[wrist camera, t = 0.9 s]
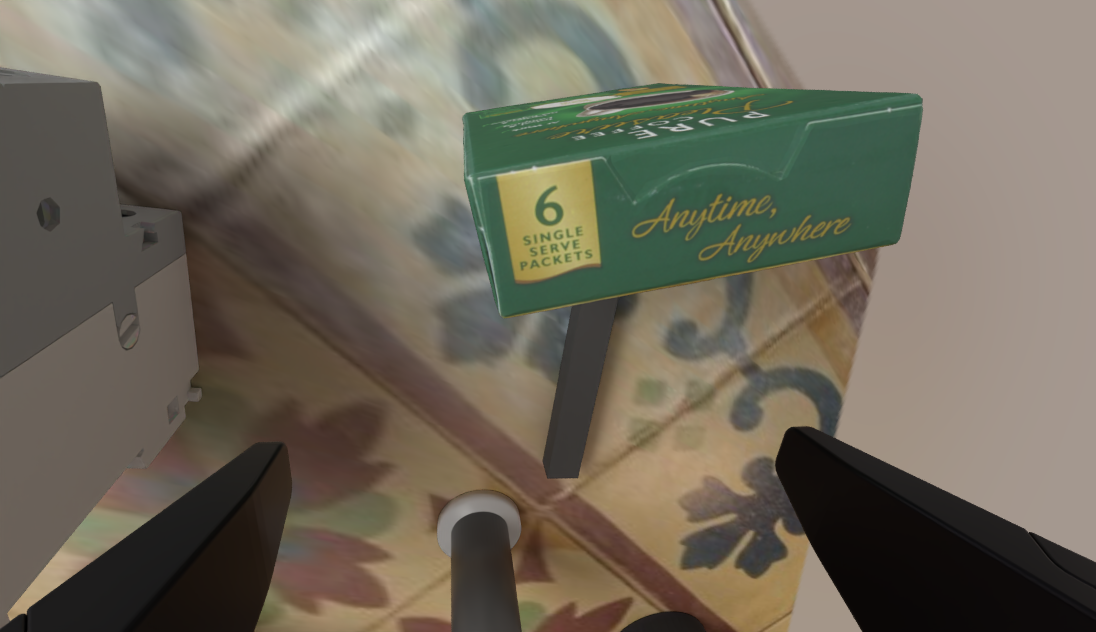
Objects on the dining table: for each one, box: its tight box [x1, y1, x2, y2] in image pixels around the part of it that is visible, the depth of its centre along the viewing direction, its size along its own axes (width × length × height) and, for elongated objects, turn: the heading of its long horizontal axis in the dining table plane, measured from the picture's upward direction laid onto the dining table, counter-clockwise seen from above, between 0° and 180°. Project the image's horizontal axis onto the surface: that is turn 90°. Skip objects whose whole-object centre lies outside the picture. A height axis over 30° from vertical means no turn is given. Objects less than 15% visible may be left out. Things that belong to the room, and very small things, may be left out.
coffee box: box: [462, 83, 923, 318], centre depth 15 cm, size 8×3×13 cm, turn 97°
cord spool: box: [437, 490, 522, 632], centre depth 24 cm, size 4×4×10 cm
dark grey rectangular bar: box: [543, 297, 619, 478], centre depth 25 cm, size 12×2×2 cm, turn 171°
